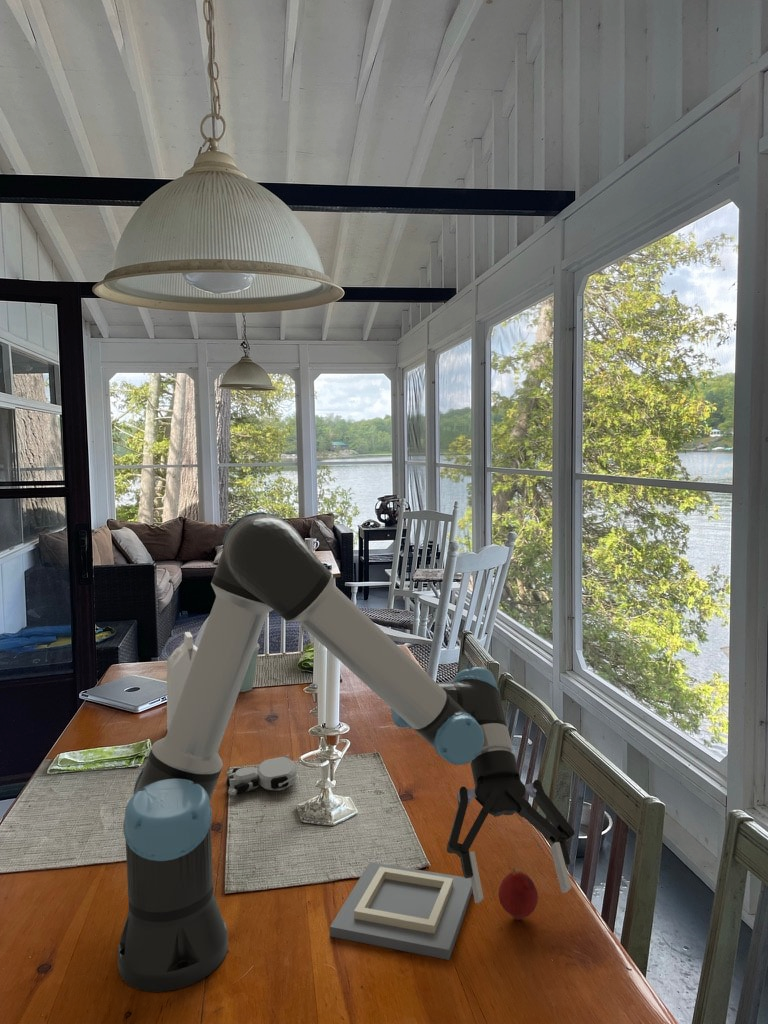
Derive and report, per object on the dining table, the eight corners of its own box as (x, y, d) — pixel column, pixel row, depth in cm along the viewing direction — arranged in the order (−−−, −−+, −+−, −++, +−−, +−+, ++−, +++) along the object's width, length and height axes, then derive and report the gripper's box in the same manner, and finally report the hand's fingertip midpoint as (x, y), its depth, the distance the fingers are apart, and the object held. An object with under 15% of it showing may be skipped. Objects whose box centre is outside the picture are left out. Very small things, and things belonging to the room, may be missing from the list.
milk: (218, 737, 187) (214, 637, 185) (171, 745, 182) (167, 642, 180) (211, 722, 198) (207, 627, 196) (167, 728, 193) (163, 631, 191)
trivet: (449, 960, 103) (448, 941, 102) (330, 936, 108) (329, 918, 108) (473, 887, 120) (473, 871, 120) (369, 870, 125) (369, 855, 125)
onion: (532, 906, 115) (532, 856, 114) (541, 929, 109) (541, 878, 108) (495, 907, 114) (495, 858, 114) (503, 931, 109) (502, 879, 108)
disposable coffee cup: (224, 685, 229) (222, 638, 228) (258, 681, 232) (257, 635, 231) (227, 696, 219) (225, 646, 218) (263, 692, 222) (261, 643, 221)
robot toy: (229, 808, 151) (301, 793, 154) (226, 787, 150) (299, 773, 154) (226, 783, 162) (293, 769, 166) (224, 763, 162) (291, 750, 166)
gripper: (556, 759, 128) (594, 892, 114) (416, 772, 124) (437, 911, 110) (568, 741, 122) (610, 879, 108) (422, 754, 118) (446, 898, 105)
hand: (523, 895), depth 109 cm, fingers open, 13 cm apart
